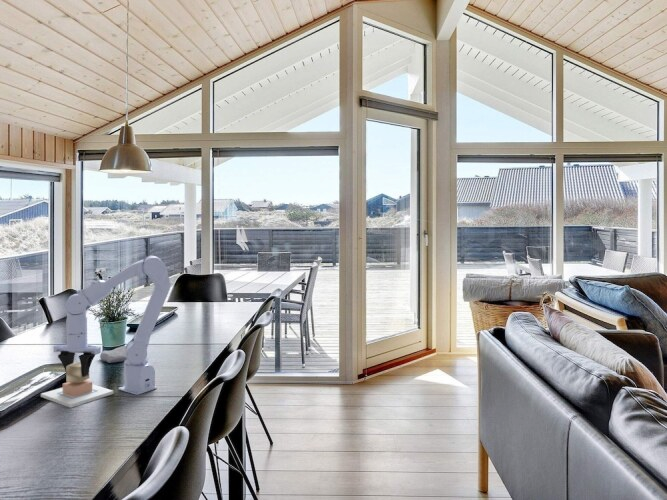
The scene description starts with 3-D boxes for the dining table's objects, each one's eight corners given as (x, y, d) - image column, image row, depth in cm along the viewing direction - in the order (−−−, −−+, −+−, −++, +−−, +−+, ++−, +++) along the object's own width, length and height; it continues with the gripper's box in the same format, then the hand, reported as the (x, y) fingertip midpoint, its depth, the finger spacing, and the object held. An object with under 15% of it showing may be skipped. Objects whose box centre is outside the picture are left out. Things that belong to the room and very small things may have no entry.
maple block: (89, 378, 154) (89, 362, 154) (80, 382, 150) (80, 366, 150) (75, 377, 155) (75, 361, 155) (66, 381, 150) (66, 366, 150)
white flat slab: (113, 393, 154) (113, 381, 154) (70, 407, 142) (70, 394, 142) (83, 384, 162) (83, 372, 162) (40, 396, 150) (40, 384, 150)
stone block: (139, 362, 195) (127, 353, 201) (140, 351, 194) (128, 342, 200) (110, 370, 186) (98, 360, 192) (111, 358, 185) (99, 349, 191)
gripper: (106, 330, 154) (106, 372, 155) (63, 328, 156) (64, 370, 157) (92, 336, 147) (93, 379, 148) (48, 333, 149) (49, 377, 150)
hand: (77, 375), depth 152 cm, fingers closed on maple block, 4 cm apart
